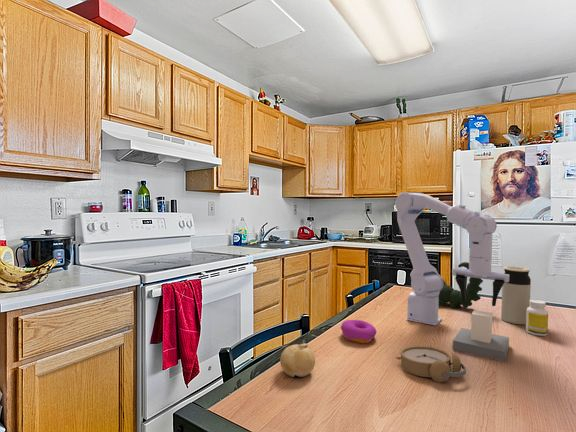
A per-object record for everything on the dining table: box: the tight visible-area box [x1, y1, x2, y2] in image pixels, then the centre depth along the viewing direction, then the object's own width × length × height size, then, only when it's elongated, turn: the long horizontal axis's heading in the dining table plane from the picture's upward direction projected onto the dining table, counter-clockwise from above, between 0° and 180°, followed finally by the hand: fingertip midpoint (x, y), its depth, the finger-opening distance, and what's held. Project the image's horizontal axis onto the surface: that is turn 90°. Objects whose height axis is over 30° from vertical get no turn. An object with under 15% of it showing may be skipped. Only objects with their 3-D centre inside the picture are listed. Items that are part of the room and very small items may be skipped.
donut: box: [340, 319, 377, 344], centre depth 101 cm, size 10×10×5 cm
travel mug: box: [500, 265, 532, 326], centre depth 116 cm, size 8×8×18 cm
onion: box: [279, 339, 316, 378], centre depth 79 cm, size 8×8×7 cm
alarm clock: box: [395, 345, 467, 383], centre depth 81 cm, size 11×5×15 cm
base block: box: [452, 327, 510, 363], centre depth 94 cm, size 12×12×2 cm
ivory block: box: [470, 309, 494, 343], centre depth 94 cm, size 4×4×7 cm
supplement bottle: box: [525, 299, 549, 337], centre depth 105 cm, size 5×5×10 cm
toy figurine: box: [439, 261, 484, 309], centre depth 135 cm, size 9×19×25 cm
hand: (478, 302), depth 101 cm, fingers open, 7 cm apart
